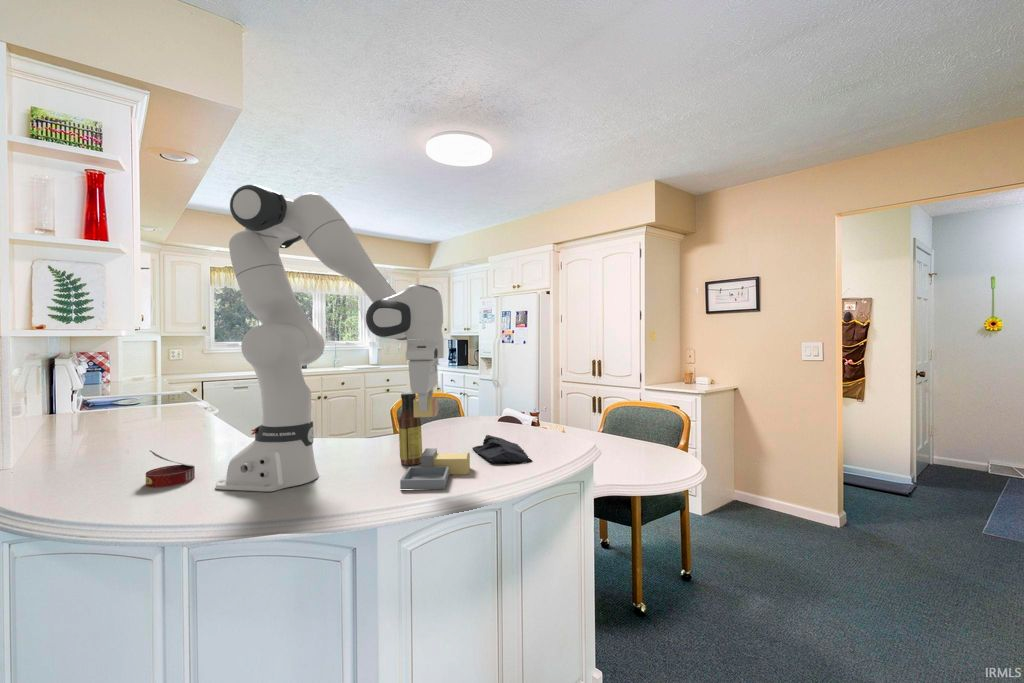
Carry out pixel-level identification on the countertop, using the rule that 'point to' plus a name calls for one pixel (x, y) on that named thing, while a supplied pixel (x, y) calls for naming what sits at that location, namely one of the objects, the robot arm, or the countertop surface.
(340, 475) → the countertop surface
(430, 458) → the beige boxy piece
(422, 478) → the tray
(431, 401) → the stub
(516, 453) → the crumpled black cloth
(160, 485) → the canned food
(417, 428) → the sauce bottle
